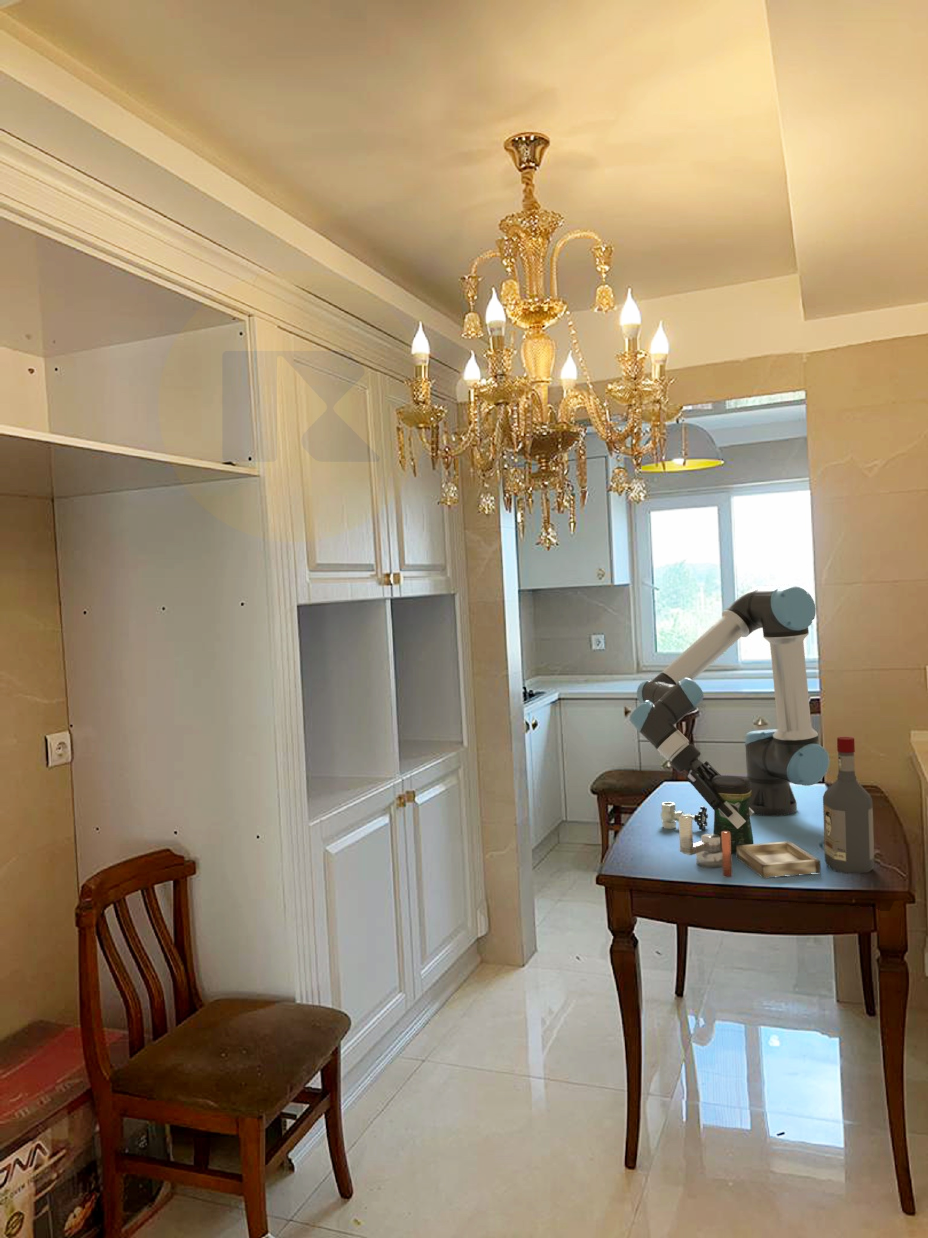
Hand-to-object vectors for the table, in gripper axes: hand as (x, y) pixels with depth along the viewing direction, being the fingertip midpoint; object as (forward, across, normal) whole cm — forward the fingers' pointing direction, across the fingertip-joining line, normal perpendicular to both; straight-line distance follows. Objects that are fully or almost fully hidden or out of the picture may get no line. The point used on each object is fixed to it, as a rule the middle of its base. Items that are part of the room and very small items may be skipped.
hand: (746, 820), depth 223 cm
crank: (-2, +16, -8) cm, 18 cm away
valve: (-9, -14, -20) cm, 26 cm away
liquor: (+23, +4, +11) cm, 26 cm away
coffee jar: (+3, 0, -8) cm, 9 cm away
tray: (+12, +8, +1) cm, 14 cm away
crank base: (+3, +15, -8) cm, 17 cm away
